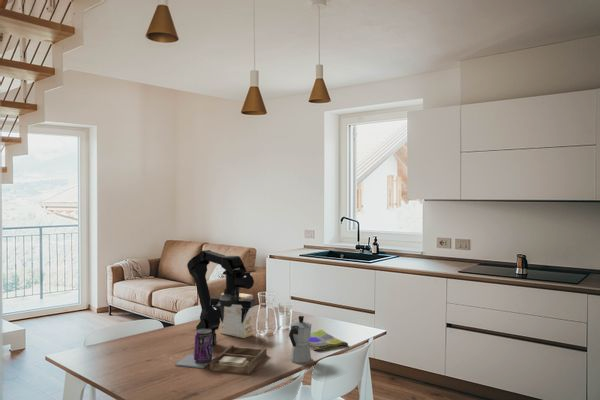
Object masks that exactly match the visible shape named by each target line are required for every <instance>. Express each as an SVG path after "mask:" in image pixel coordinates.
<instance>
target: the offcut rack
mask: <svg viewBox="0 0 600 400" xmlns="http://www.w3.org/2000/svg"><path fill="white" fill-rule="evenodd" d="M267 352H268V351H267V347H263V348H258V347H256V348H255V347H247V346H246V347H245V346H234V344H230V345H229V346H228V347H226V348H225V349H224V350H223V351H221V353H219V354H218V355H216V356H215V357H216V358H214V359H213V360H212V361H211V362H210V363H209V371H215V372H224V373H233V374H243V375H250V373H252V372H253V370H255V369H256V367H257V366H258V365H259V364H260V363H261V362H262V361H263V360H264V359H265V357H266V356H267ZM224 356H228V357H240V358H246V361H249V363H248V364H247V365H246V366H238V365H228V364H219V360H221V359H222V358H223V357H224Z"/></svg>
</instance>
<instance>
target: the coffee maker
mask: <svg viewBox="0 0 600 400" xmlns="http://www.w3.org/2000/svg"><path fill="white" fill-rule="evenodd" d="M304 318H305V317H304V315H299V316H298V322H293V323H291V325H290V330H289V334H288V337H289V340H290V342H291V344H292V348H291V354H290V361H291V363H293V364H294V363H295V364H308V363H310V362H312V356H311V349H310V347H309V343H308V342H309V340H310V333H312V330H311V329H312V324H311V323H309V322H307V321H306V322H305V321H304Z"/></svg>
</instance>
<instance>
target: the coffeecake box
mask: <svg viewBox="0 0 600 400" xmlns="http://www.w3.org/2000/svg"><path fill="white" fill-rule="evenodd" d="M223 294H224V292H222V293H220V297H221V296H222V295H223ZM239 297H240V300H241V301H243V300H245V299H254V294H249V293H242V292H239ZM236 303H237V302H236ZM241 308H243V307H242V305H234V304H232V306H231V307H226V306H224V320H223V322H222V321H221V320H220V334H223V335H227V336H231V337H237V338H242V339H246V338H248V337H252V336H253V335H254V333H253V332H254V328H253V327H254V306H253V307H252V308H250V309H249V310H248V312H247V315H246V317H245V320H244V322H243V323H241V316H242V311H241Z"/></svg>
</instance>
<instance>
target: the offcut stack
mask: <svg viewBox="0 0 600 400" xmlns="http://www.w3.org/2000/svg"><path fill="white" fill-rule="evenodd" d="M248 363H249V361H246V358H240V357H228V356H224V357H223V358H222V359H221V360H219V364H228V365H238V366H246V365H247V364H248Z"/></svg>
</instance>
